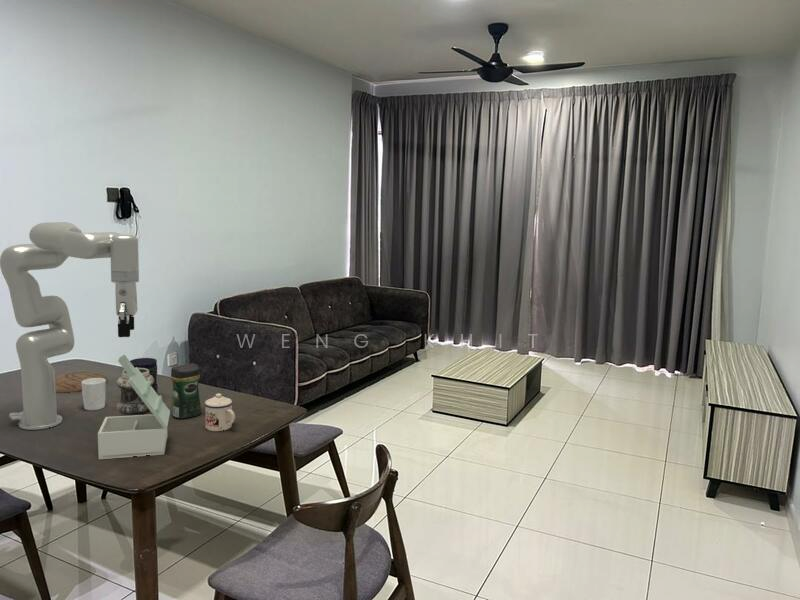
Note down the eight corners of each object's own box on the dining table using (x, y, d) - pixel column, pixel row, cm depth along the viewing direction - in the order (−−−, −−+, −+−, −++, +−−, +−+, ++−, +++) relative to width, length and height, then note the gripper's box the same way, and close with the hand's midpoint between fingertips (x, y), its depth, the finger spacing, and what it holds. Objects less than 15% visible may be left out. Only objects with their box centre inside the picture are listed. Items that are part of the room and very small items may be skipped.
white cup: (81, 412, 216) (80, 384, 214) (83, 405, 223) (82, 378, 221) (106, 409, 219) (105, 383, 217) (107, 403, 226) (106, 377, 224)
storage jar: (161, 395, 237) (161, 358, 235) (152, 403, 227) (151, 365, 225) (136, 394, 237) (135, 357, 234) (125, 402, 227) (124, 364, 225)
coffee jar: (193, 409, 223) (193, 360, 220) (204, 415, 218) (203, 365, 215) (168, 415, 216) (167, 364, 213) (178, 421, 211) (177, 369, 208)
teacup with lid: (198, 427, 206) (198, 394, 204) (219, 420, 213) (219, 388, 211) (223, 436, 199) (223, 402, 198) (244, 428, 207) (244, 395, 205)
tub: (98, 459, 178) (97, 433, 177) (106, 441, 191) (105, 416, 190) (164, 454, 183) (163, 429, 182) (167, 437, 197) (166, 413, 195)
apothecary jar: (157, 414, 217) (156, 365, 214) (153, 426, 205) (152, 374, 203) (120, 415, 213) (119, 366, 211) (114, 428, 202) (112, 376, 199)
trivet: (66, 398, 230) (65, 393, 230) (23, 387, 240) (23, 383, 240) (121, 382, 252) (121, 377, 252) (80, 372, 263) (79, 368, 262)
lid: (115, 365, 175) (121, 361, 176) (122, 353, 188) (127, 350, 189) (164, 428, 182) (169, 425, 183) (167, 413, 195) (172, 409, 196)
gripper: (135, 280, 172) (136, 339, 175) (142, 273, 188) (143, 327, 191) (106, 280, 170) (108, 340, 173) (115, 272, 186) (117, 327, 189)
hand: (126, 333), depth 182 cm, fingers open, 9 cm apart
